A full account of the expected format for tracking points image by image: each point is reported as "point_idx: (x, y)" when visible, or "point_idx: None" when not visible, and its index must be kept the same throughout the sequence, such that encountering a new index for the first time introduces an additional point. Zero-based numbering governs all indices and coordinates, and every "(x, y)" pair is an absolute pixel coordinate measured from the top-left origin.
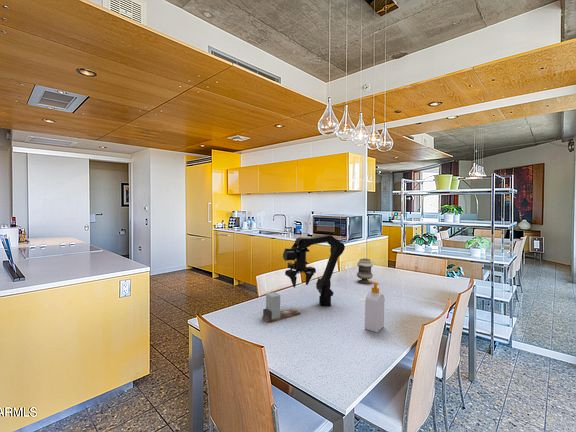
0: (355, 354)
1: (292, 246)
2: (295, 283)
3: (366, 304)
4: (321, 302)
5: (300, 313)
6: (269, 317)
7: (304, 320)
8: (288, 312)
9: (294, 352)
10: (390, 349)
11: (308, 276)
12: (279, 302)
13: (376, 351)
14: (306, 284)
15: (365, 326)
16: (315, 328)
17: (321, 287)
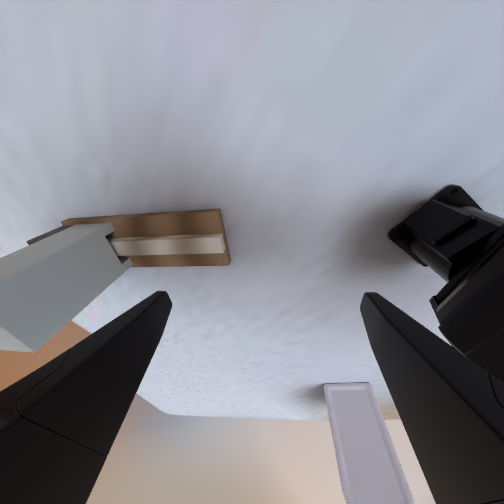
0: (232, 399)
1: None
2: (139, 370)
3: (340, 476)
4: (413, 234)
5: (229, 262)
6: None
7: (218, 301)
8: (173, 252)
9: None
10: (291, 413)
11: None
12: (75, 312)
13: (267, 407)
14: (363, 306)
15: (324, 392)
16: (221, 339)
17: (468, 347)
